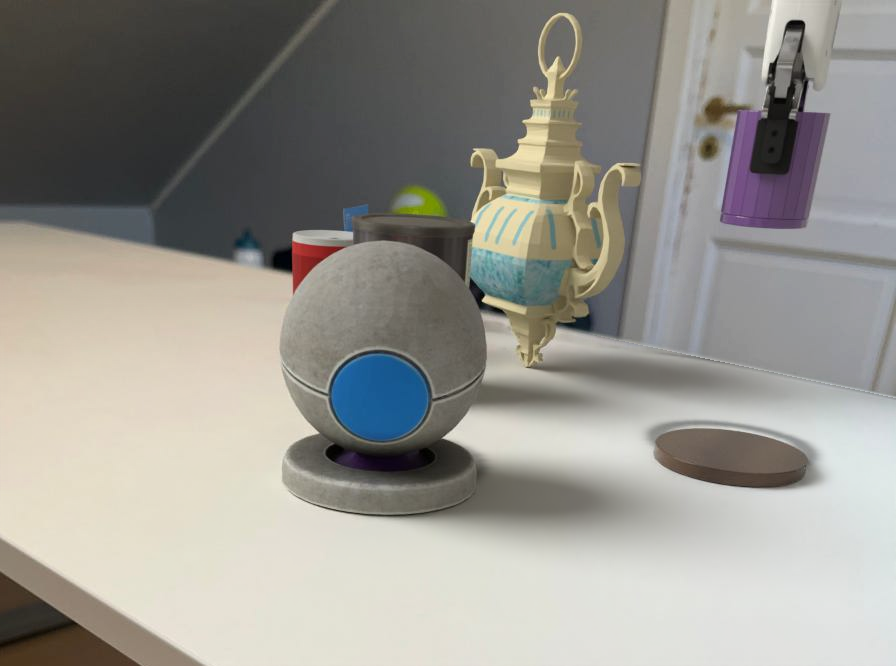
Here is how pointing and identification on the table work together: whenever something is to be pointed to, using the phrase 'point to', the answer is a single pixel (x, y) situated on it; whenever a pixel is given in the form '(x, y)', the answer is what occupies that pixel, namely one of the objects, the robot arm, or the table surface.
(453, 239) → the coffee can
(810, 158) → the cup
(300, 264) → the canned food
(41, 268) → the table surface
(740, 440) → the coaster
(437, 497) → the webcam
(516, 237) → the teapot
